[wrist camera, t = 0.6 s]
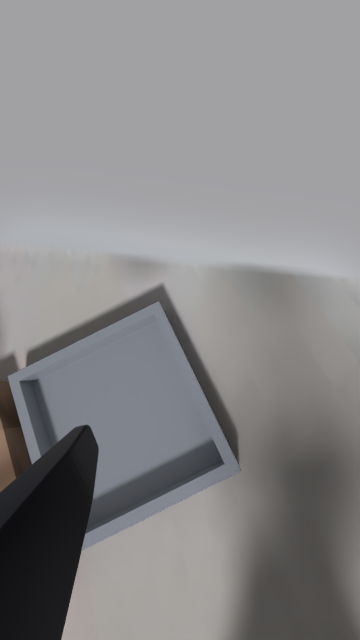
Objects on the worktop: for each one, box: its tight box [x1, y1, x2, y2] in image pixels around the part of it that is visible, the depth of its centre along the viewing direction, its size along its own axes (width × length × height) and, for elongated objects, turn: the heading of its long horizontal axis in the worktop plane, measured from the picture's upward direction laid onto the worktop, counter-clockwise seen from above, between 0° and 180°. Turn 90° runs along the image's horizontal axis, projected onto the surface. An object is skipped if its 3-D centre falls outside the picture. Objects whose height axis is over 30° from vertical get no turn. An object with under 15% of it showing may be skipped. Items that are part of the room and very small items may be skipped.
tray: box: [7, 301, 241, 551], centre depth 23 cm, size 14×14×2 cm
